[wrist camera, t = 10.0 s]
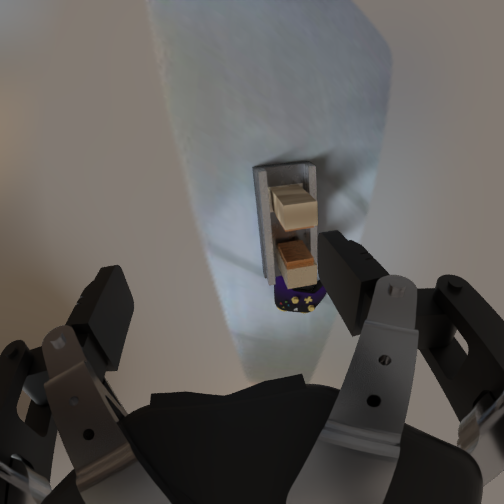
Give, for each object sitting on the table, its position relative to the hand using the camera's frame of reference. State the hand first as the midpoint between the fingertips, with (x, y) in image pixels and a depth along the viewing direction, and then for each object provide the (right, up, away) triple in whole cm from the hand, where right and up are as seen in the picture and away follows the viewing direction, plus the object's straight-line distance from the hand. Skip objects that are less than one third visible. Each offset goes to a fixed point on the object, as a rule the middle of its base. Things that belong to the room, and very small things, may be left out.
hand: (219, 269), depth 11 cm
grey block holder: (+6, +5, +30) cm, 31 cm away
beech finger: (+6, +8, +27) cm, 29 cm away
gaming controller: (+9, -6, +37) cm, 38 cm away
